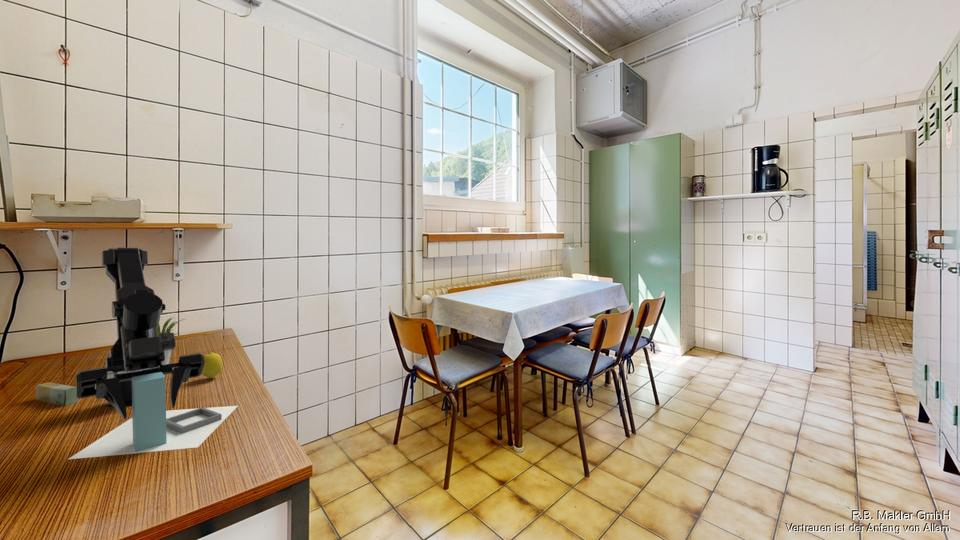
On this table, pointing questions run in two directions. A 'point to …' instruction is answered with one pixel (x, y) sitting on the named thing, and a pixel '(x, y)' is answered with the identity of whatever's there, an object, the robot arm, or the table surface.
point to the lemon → (212, 365)
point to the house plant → (168, 330)
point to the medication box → (56, 393)
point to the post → (149, 410)
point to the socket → (182, 429)
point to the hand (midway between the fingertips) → (150, 412)
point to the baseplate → (122, 443)
